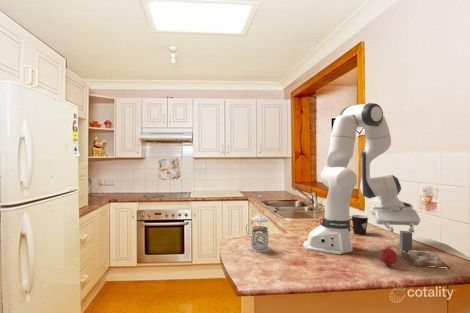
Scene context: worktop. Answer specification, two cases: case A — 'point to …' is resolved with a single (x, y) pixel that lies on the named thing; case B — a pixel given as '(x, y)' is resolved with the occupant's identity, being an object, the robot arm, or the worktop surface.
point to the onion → (388, 256)
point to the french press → (259, 234)
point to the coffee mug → (359, 224)
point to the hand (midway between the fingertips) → (402, 231)
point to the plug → (405, 241)
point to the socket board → (424, 259)
